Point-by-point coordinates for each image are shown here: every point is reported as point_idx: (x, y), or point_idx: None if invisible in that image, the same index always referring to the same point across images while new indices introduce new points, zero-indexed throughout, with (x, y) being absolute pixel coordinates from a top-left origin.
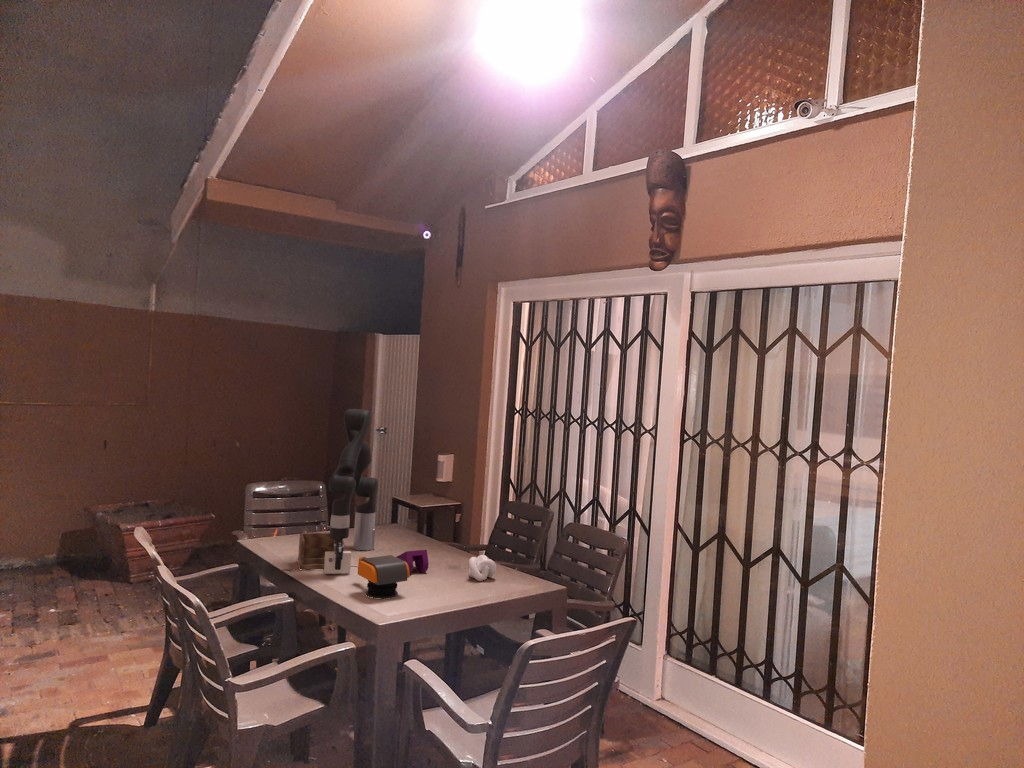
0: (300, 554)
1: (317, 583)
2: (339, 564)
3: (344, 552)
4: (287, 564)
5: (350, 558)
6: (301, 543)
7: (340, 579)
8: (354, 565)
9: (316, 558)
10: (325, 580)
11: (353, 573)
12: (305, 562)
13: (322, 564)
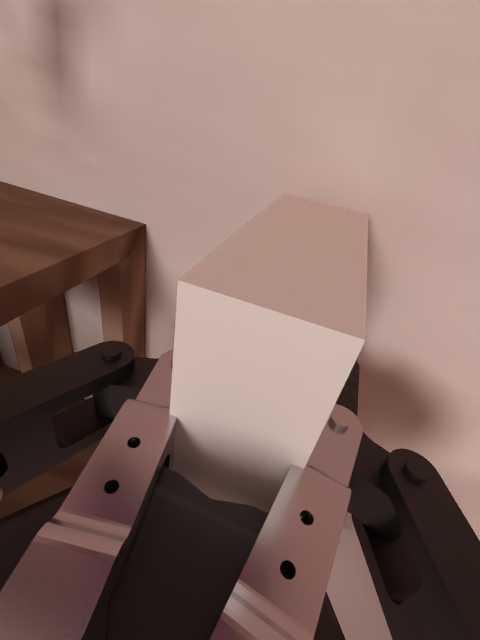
0: None
1: (462, 506)
2: (355, 394)
3: (260, 425)
4: None
5: (363, 286)
6: None
7: (469, 349)
8: (31, 25)
9: (20, 360)
10: (419, 442)
11: (322, 143)
12: None
13: None
